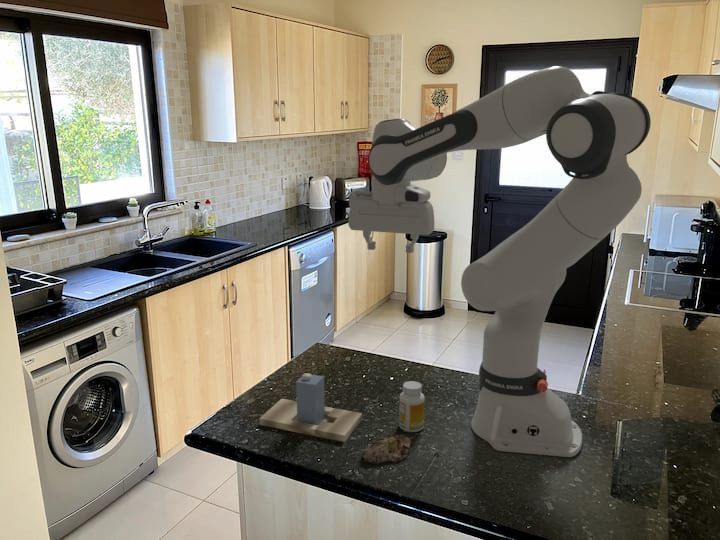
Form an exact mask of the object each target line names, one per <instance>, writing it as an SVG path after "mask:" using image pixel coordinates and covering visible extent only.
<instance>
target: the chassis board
mask: <svg viewBox="0 0 720 540" xmlns="http://www.w3.org/2000/svg"><path fill="white" fill-rule="evenodd" d="M258 419H259V425H260V426H264V427H269V428H274V429H279V430H284V431H289V432H292V433H297V434H298V433H299V434H304V435H308V436H314V437H317V438H322V439H327V440H332V441H337V442H341V443H346V442H347V440H348V439H349V438H350V436H351V435H352V434H353V432H354V431H355V429H357V427H358V426H359V424H360V423H361V422H362V421H363V413H362V412H358V411H351V410H346V409H341V408H335V407H331V406H330V407H329V406H325V419H324V420H323V421H322V422H321V423H320V424H319V426H318V425H313V424H308V423H302V422H297V400H292V399H287V398H281V399H279V400H278V401H277V402H276V403H275V404H274V405H272V406H271V407H270V408H269V409H268V410H267V411H266V412H265V413H264V414H262V416H261V417H259V418H258Z"/></svg>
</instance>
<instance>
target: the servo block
mask: <svg viewBox="0 0 720 540" xmlns="http://www.w3.org/2000/svg"><path fill="white" fill-rule="evenodd" d="M295 385H296V387H295V389H296V390H295V391H296V401H297V422H302V423H308V424H313V425H318V426H319V424H320V423H321V422H322V421H323V420H324V419H325V407H326V404H325V403H326V401H325V400H326V399H325V393H326V392H325V376H324V375H316V374H311V373H308V372H307V373H306V372H305V373H303V374H302V375H301V377H300V378H299V379H298V380H297V381H295Z"/></svg>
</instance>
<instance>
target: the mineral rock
mask: <svg viewBox="0 0 720 540" xmlns="http://www.w3.org/2000/svg"><path fill="white" fill-rule="evenodd" d="M411 442H412V441H411V439H410V438H409V437H408V436H404V435H403V434H396V435H391V436H390V437H388V438H387V437H383V438H382V437H380V438H378V439H375V440H374V441H373V442H371V443H369V445H368V446H367V447H365V448H364V449H363V450H362V453H361V457H362V458H363V462H364V463H371V464H380V463H381V464H382V463H385V462H393V463H396V462H400V461H402V460H403V459H404V458H407V456H409V453H410V451H409V450H410V447H411Z"/></svg>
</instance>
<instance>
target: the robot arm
mask: <svg viewBox="0 0 720 540" xmlns="http://www.w3.org/2000/svg"><path fill="white" fill-rule="evenodd" d="M650 130H651V115H650V112H649V110H648V108H647V107H646V105H645V104H644V103H643V102H642V101H641V100H639V99H638V98H636V97H634V96H632V95H628V94H625V93H620V92H610V91H603V90H602V91H600V90H597V91H594V92H592V93H591V94H590V93H587V92H585V90H584V88H583V86H582V84H581V81H580V79H579V78H578V76H577V75H576V73H574V71H572V70H571V69H570V68H568V67H565V66H560V65H554V66H551V67H546V68H542V69H539V70H537V71H533V72H531V73H529V74H526V75H522V76H521V77H518V78H517V79H514V80H512V81H510V82H508V83H506V84H504V85H503V86H501V87H498V88H497V89H495V90H493V91H491V92H489V93H488V94H485V95H484V96H483V97H480V98H479V99H476V101H473V102H471V103H470V104H467V105H466V106H464V107H463V106H462V108H460V109H458V110H456V111H454V112H452V113H449V114H448V115H446V116H444V117H441V118H439V119H436V120H434V121H431V122H429V123H427V124H425V125H422V126H420V127H418V128H416V127H415V126H413V125H412V124H411V123H410V121H409V120H407V119H406V118H392V119H385V120H382V121H379V122H378V123H377V124H376V125H375V127H374V131H373V135H372V141H371V142H372V143H371V146H370V149H369V153H368V157H367V165H368V168H369V171H370V172H371V175H372V176H371V191H370V190H363V191H361V190H354V192H352V193H350V195H349V197H348V206H349V214H348V222H347V223H348V228H350V230H351V231H362V236H363V238H364V240H365V242H366V243H367V250H368V251H374V250H376V247H377V246H376V244H377V243H376V241H373V239H372V237H371V236H370V235H372V232H377V233H378V232H379V233H393V234H395V233H396V234H408V235H410V239H412V240H411V242H410V243H407V244H406V245H405V253H408V254H409V253H410V254H413V253H414V250H415V245H416V243H417V241H418V239H419V237H420V235H421V236H422V235H423V236H429V235H431V234H432V233H433V232H434V230H435V211H434V207H433V204H432V203H431V202H430V201H429V200H430V199H431V191H430V190H428V189H425V188H422V187H420V186H417V185H415V184H411V182H416V181H417V182H419V181H426V180H432V179H434V178H437V177H439V176H441V175H442V173H443V171H444V170H445V168H446V165H447V159H448V155H447V154H448V153H451V152H459V151H470V150H471V151H472V150H473V151H475V150H478V151H479V150H498V149H499V150H500V149H506V148H511V147H514V146H518V145H521V144H525V143H528V142H530V141H532V140H534V139H537V138H539V137H541V136H545V140H546V144H547V146H548V150H549V151H550V153H551V154H552V156H553V158H554V159H555V160H556V161H557V162H558V163H559V165H561V168H562V170H563V172H564V173H565V175H567V176H568V177H570V178H572V179H571V180H570V182H568V184H566V185H565V186H564V187H563V189H561V190H560V192H559V193H557V195H556V196H554V197H553V199H551V200H550V201H549V202H548V204H547V205H546V206H545V207H544V208H543V209H542V210H540V211H539V212H538V213H537V215H535V216H534V218H532V219H531V220H530V221H528V223H526V224H525V225H524V226H523V227H522V228H519V230H516V232H514V233H512V234H511V235H510V236H508V237H507V238H506V239H504V240H503V241H502V242H501V243H499V244H498V245H496V246H495V247H494V248H493V249H491V250H490V251H488V253H486V254H485V255H483V256H481V257H480V258H478V259H477V260H475V261H473V262H472V263H469V264H468V265H467V266H466V268H465V269H464V270H463V273H462V275H461V283H460V286H461V291H462V294H463V297H464V298H465V300H466V301H467V303H468V304H469V305H470V306H471V307H472V308H474V309H476V310H478V311H481V312H494V314H493V316H491V318H490V320H489V321H488V323H486V325H485V329H484V331H483V343H482V344H483V345H482V362H481V363H480V365H479V370H478V391H479V393H478V399H477V402H476V403H477V404H476V408H475V412H474V415H473V418H472V420H471V422H470V426H471V429H472V431H473V432H474V433H475V434H476V435H477V436H478V437H479V438H481V439H483V441H486V442H487V443H489V445H490V446H491V447H492V448H493V449H494V450H496V451H498V452H507V453H517V454H518V453H519V454H528V455H541V456H551V457H564V458H573V457H575V456H576V455H577V454H578V453H579V452H580V451H581V449H582V446H583V434H582V430H581V428H580V426H579V425H578V424H577V423H576V422H575V421H573V420H572V415H571V411H570V408H569V405H568V404H567V403H566V401H565V400H564V399H562V398H560V396H558V395H557V394H555V393H554V392H553V391H552V390H550V388H548V385H549V383H548V381H547V378H548V376H547V372H546V369H543V371H542V370H541V369H540V368H539V367H538V360H539V359H538V358H539V349H540V340H541V334H542V330H543V327H544V324H545V321H546V317H547V315H548V311H549V309H550V306H551V304H552V303H553V300H554V297H555V295H556V293H557V292H558V290H559V289H560V288H561V287H562V285H563V283H564V282H565V279H566V276H567V269H569V268H570V267H571V266H573V265H575V264H576V263H577V262H578V261H579V260H580V259H582V258H583V257H584V256H586V254H587V253H589V252H590V251H591V250H592V249H593V248H594V247H596V246H597V245H598V244H599V243H600V242H602V241H603V240H604V239H605V238H606V237H607V236H608V235H609V234H610V233H611V232H613V230H614V229H616V228H617V227H618V226H619V224H621V222H623V220H624V219H625V218H626V217H627V215H629V213H630V212H631V211H632V210H633V209H634V208H635V206H636V205H637V203H638V201H639V200H640V199H641V195H642V191H643V189H642V182H641V180H640V178H639V176H638V174H637V173H636V171H634V170H633V168H631V167H630V166H629V163H628V155H630V154H632V153H633V152H634V151H637V149H638V148H639V147H640V146H641V145H642V144H643V143H644V142H645V141H646V139H647V138H648V135H649V133H650ZM571 173H573V174H571Z"/></svg>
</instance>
